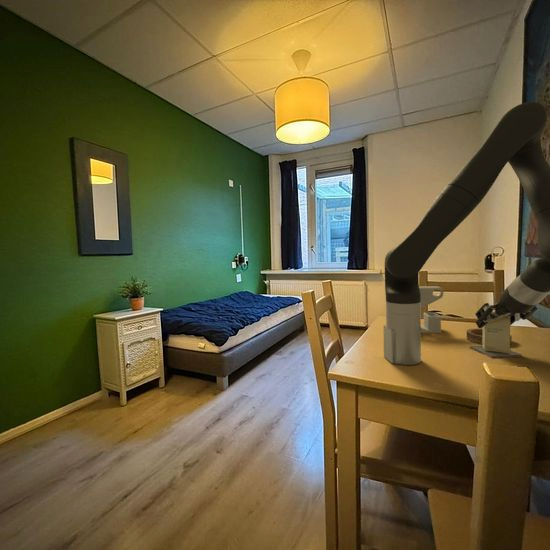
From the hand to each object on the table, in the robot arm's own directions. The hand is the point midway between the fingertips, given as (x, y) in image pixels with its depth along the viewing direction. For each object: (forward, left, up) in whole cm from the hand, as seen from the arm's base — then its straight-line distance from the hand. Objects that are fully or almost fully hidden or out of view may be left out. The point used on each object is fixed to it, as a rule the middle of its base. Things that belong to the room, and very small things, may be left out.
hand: (491, 325), depth 89 cm
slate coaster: (0, -1, -8) cm, 8 cm away
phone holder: (-10, +27, -8) cm, 30 cm away
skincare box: (0, -2, -8) cm, 8 cm away
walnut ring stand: (+6, +10, -8) cm, 14 cm away
